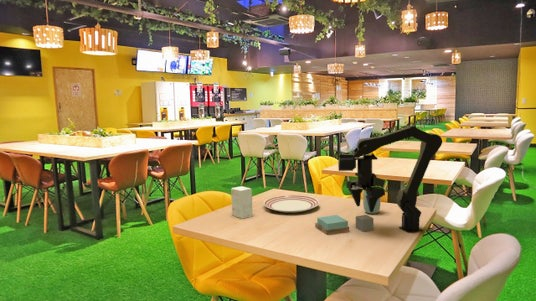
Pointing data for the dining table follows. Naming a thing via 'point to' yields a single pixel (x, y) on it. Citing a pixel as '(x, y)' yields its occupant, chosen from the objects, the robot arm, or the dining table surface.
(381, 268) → the dining table surface
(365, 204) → the cup
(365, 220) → the grey cube
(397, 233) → the dining table surface
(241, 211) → the small box
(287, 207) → the dinner plate
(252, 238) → the dining table surface
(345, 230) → the tower bottom
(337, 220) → the tower top
